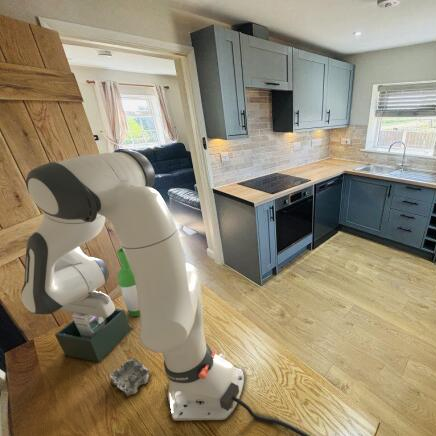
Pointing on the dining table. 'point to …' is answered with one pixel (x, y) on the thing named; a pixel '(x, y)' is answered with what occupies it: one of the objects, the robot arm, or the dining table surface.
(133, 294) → the wine bottle
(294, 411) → the dining table surface
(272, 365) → the dining table surface
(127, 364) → the grey jagged rectangular tray
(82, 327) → the syrup box
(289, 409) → the dining table surface
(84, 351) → the waste bin
